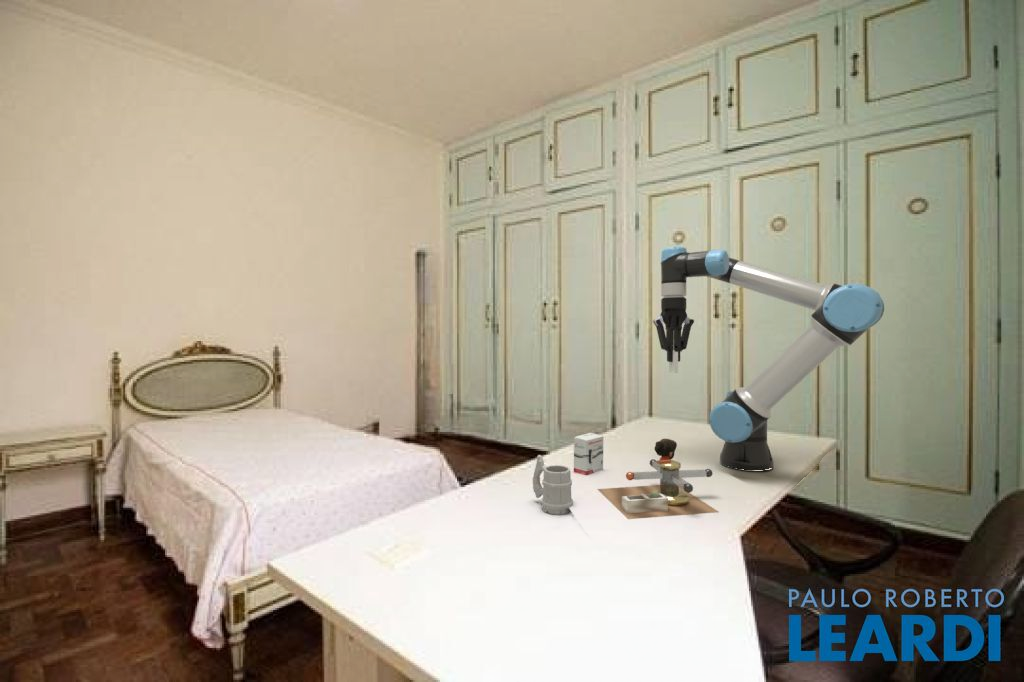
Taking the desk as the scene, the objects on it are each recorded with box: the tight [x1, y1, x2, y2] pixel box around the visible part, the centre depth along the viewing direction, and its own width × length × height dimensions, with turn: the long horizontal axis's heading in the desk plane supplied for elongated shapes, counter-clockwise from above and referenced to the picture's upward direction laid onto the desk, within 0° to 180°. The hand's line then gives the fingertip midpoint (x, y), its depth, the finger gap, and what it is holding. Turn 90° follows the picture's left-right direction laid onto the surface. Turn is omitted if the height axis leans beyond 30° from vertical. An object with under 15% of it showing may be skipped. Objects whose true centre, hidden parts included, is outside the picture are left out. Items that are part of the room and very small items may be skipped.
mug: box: [532, 454, 574, 516], centre depth 118 cm, size 8×12×12 cm, turn 43°
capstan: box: [625, 459, 713, 505], centre depth 119 cm, size 22×22×9 cm
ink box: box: [573, 432, 604, 476], centre depth 143 cm, size 8×5×12 cm, turn 134°
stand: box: [597, 484, 720, 520], centre depth 119 cm, size 22×20×6 cm
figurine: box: [654, 438, 678, 460], centre depth 137 cm, size 6×6×12 cm
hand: (673, 372), depth 153 cm, fingers closed
